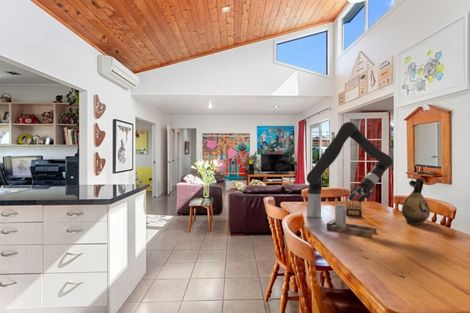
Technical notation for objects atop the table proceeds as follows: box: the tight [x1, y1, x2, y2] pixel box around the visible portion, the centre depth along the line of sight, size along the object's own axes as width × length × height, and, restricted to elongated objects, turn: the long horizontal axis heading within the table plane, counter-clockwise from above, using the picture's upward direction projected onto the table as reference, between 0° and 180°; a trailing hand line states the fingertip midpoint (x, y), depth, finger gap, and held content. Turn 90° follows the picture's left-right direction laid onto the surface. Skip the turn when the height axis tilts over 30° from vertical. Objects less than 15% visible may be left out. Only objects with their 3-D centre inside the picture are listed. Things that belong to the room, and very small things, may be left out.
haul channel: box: [326, 218, 378, 238], centre depth 157 cm, size 25×12×4 cm, turn 50°
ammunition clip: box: [345, 199, 363, 218], centre depth 196 cm, size 11×2×12 cm, turn 65°
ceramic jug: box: [401, 177, 431, 225], centre depth 175 cm, size 17×15×30 cm
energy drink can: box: [334, 203, 347, 227], centre depth 161 cm, size 6×6×15 cm
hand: (353, 200), depth 163 cm, fingers open, 8 cm apart
